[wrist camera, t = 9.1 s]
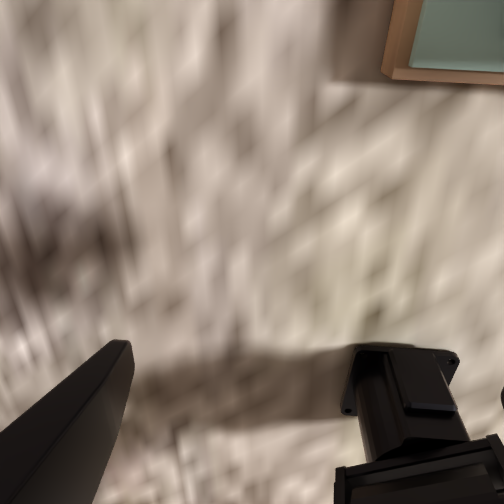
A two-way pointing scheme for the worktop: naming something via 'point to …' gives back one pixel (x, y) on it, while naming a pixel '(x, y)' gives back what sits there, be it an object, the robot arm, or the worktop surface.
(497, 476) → the robot arm
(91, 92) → the worktop surface
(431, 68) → the stand
